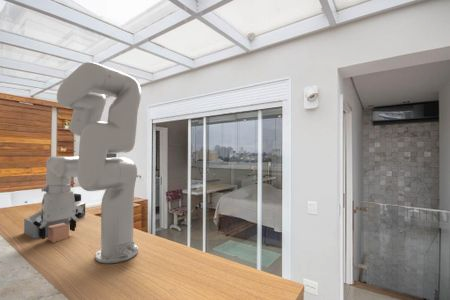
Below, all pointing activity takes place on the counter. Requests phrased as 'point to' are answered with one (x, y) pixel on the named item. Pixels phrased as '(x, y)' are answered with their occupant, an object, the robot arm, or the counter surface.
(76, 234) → the counter surface
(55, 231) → the terracotta cube
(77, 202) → the medicine bottle
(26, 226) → the grey block
